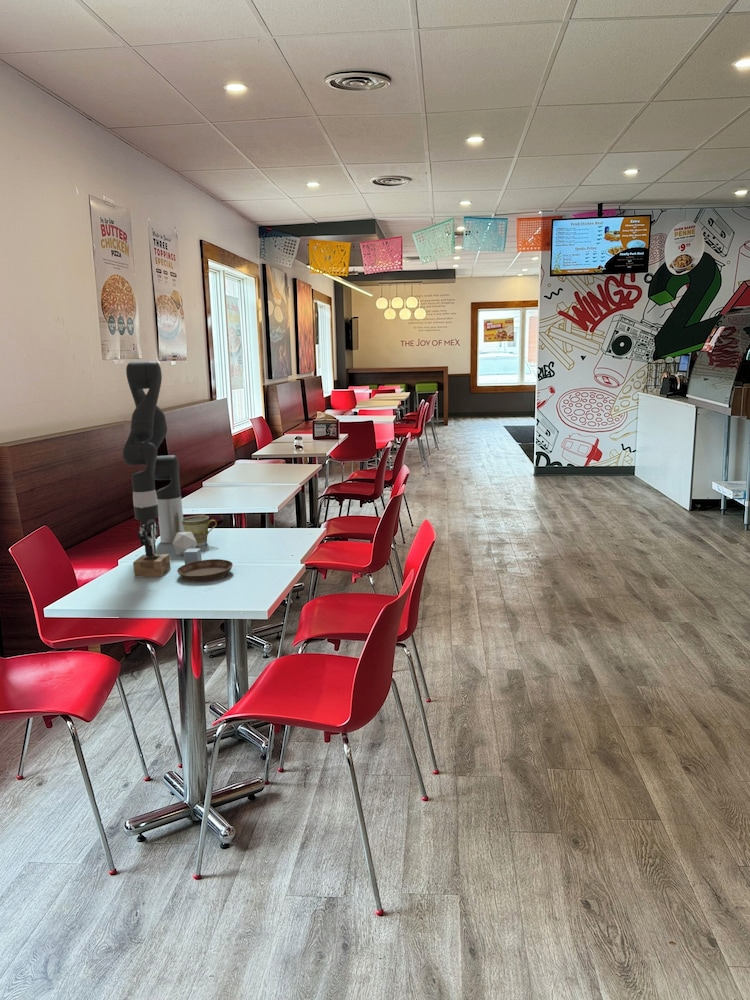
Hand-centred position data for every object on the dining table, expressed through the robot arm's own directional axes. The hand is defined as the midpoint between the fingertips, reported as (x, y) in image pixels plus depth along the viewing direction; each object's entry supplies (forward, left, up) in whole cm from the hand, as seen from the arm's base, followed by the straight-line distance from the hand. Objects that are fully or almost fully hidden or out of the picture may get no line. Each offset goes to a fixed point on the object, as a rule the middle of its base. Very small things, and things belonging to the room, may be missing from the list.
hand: (151, 554), depth 247 cm
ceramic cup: (-36, +6, -6) cm, 37 cm away
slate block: (-9, +11, -6) cm, 15 cm away
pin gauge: (0, 0, -4) cm, 4 cm away
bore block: (0, 0, -6) cm, 6 cm away
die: (-23, +4, -6) cm, 24 cm away
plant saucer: (+4, +19, -7) cm, 20 cm away
